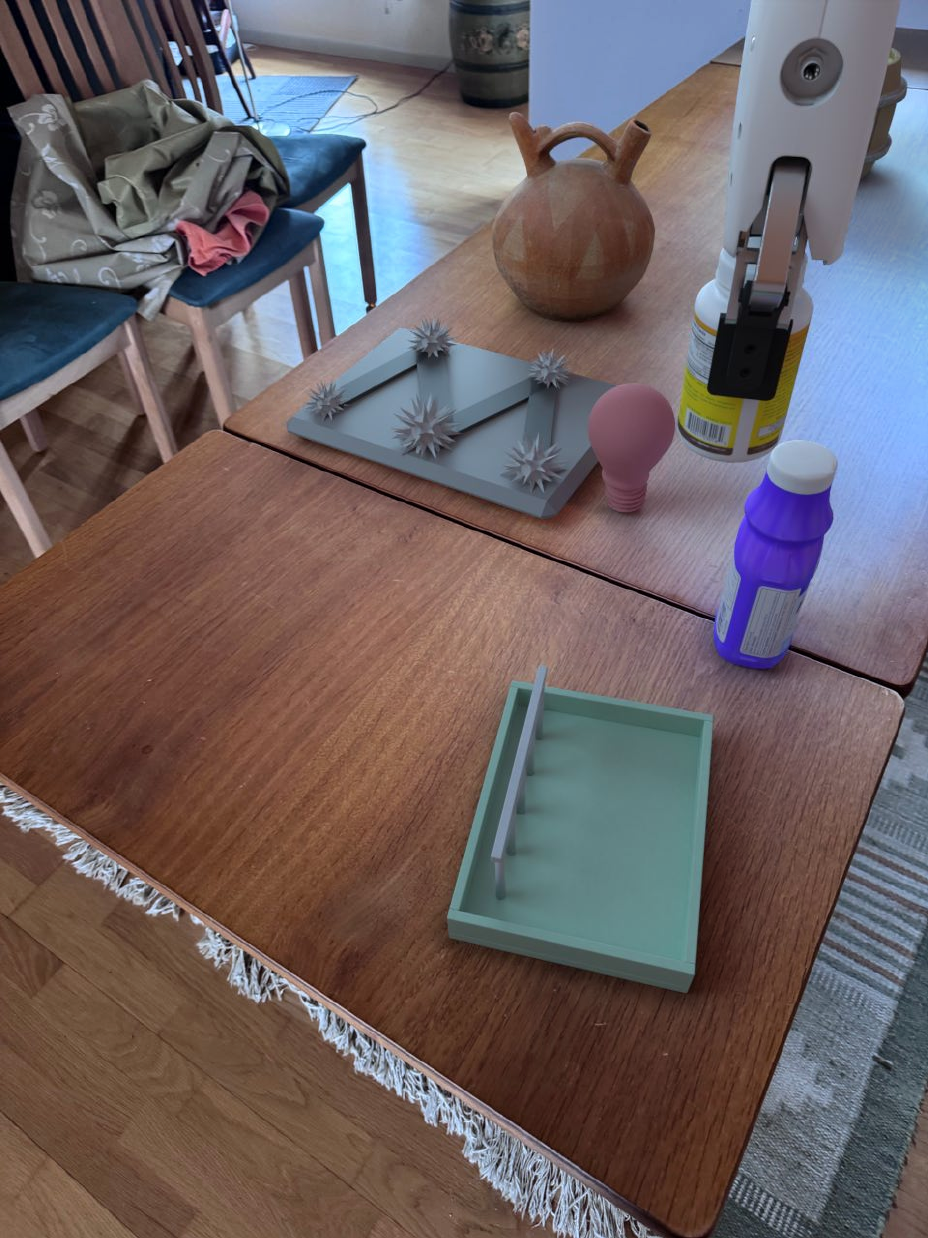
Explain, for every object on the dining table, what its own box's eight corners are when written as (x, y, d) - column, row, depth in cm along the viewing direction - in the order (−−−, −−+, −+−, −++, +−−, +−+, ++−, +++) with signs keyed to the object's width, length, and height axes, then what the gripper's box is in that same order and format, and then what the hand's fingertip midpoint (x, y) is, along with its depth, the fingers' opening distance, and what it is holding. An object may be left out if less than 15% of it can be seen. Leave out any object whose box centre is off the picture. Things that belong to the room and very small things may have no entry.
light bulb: (573, 523, 77) (581, 407, 69) (592, 475, 82) (601, 360, 73) (653, 538, 76) (672, 421, 67) (668, 488, 80) (687, 372, 71)
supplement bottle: (772, 410, 50) (817, 228, 42) (784, 470, 46) (837, 282, 39) (672, 407, 50) (699, 227, 43) (676, 466, 47) (707, 280, 39)
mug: (726, 197, 124) (747, 76, 113) (765, 138, 138) (788, 26, 127) (865, 217, 118) (902, 92, 107) (891, 153, 132) (925, 37, 121)
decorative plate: (645, 409, 89) (654, 345, 84) (550, 533, 77) (553, 468, 72) (399, 340, 100) (394, 280, 95) (282, 439, 88) (267, 376, 83)
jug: (473, 327, 101) (468, 141, 87) (514, 258, 113) (515, 83, 98) (632, 346, 97) (654, 154, 83) (657, 273, 109) (680, 93, 94)
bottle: (782, 684, 64) (850, 500, 52) (704, 667, 66) (752, 483, 53) (791, 615, 69) (855, 430, 56) (717, 600, 70) (764, 416, 58)
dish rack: (707, 738, 61) (726, 671, 56) (687, 994, 50) (709, 940, 44) (511, 704, 64) (512, 636, 59) (448, 938, 52) (442, 881, 47)
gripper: (981, -37, 25) (820, 471, 38) (932, -130, 36) (821, 288, 49) (713, -39, 27) (647, 450, 40) (745, -128, 38) (685, 277, 51)
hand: (744, 357), depth 45 cm, fingers closed on supplement bottle, 5 cm apart
